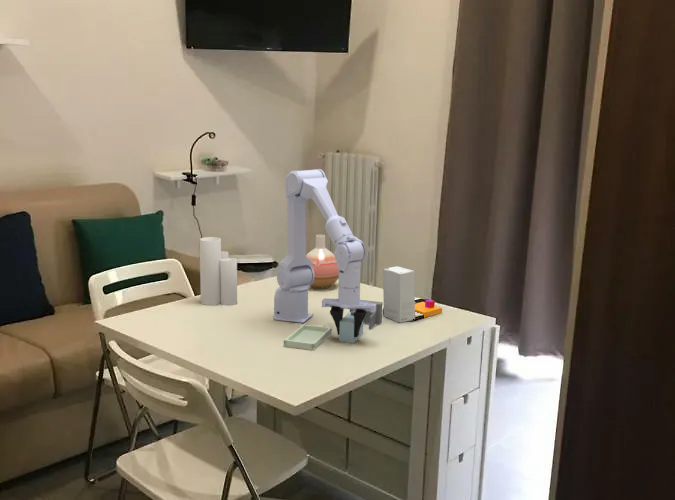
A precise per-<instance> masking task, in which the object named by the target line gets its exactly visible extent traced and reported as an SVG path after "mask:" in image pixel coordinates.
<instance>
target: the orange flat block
mask: <svg viewBox="0 0 675 500" xmlns="http://www.w3.org/2000/svg"><path fill="white" fill-rule="evenodd" d="M435 303H436V301H435V300H433V299H426V300H424V301H421V302H417V303H416V302H415V312H417V313H420V314H423V315H424V318H423V319H425V318H429V317H432V316H436V315H440V314H442V313H443V307H441V306H438V305H435Z"/></svg>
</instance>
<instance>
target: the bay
mask: <svg viewBox="0 0 675 500" xmlns="http://www.w3.org/2000/svg"><path fill="white" fill-rule="evenodd" d="M360 301H364V302H368V303H374V304H376V311H375V312H374V313H372V312H370V311H367V313H366V315H365V317H364V319H363V324H368V330H372V329H373V328H374V327H375V326H376V325H382V324H381V323H382V322H383V301H374V300H365V299H360ZM352 311H357V310H352V309H349V312H352Z"/></svg>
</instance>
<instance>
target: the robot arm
mask: <svg viewBox="0 0 675 500" xmlns="http://www.w3.org/2000/svg"><path fill="white" fill-rule="evenodd" d="M328 185H329V181H328V178H327V176H326V173H325V172H324V170H323V169H322V168H321V169H320V168H317V169H305V170H291V171H290V172H288V174H287V175H286V176H285V198H286V256H284V258H282V260H281V261H280V262H279V263H278V271H277V274H276V281H277V284H278V287H277V288H276V290H275V292H274V298H273V305H274V307H273V310H274V312H273V318H272V319H273V320H274V321H284V322H293V323H301V324H305V322H306V321H308V320H309V319H310V318H311V317H313V316H314V315H313V313H309V289H311V287H310V285H311V284H312V283H313V282H314V277H315V275H314V270H313V266H312V261H311V260H310V259H309V258H307V257H306V254H307V252H306V251H307V249H306V248H307V247H306V246H307V244H306V243H307V242H306V239H307V235H306V234H307V233H306V228H307V225H306V222H307V219H306V218H307V217H306V216H307V215H306V213H307V212H306V209H307V208H306V207H307V205H306V204H307V203H306V202H307V201H308V200H313V202H314V203H315V205H316V207H317V209H318V210H319V211H320V213H321V215H322V216H323V218H324V219H325V221H326V223H325V224H324V225H325V227H324V228H325V231H326V232H327V234H328V236H329V238H330V240H331V243H332V244H333V246H334V248H335V250H334V251H333V254H334V255H335V259H336V261H337V267H338V269H339V278H338V285H337V286H338V291H337V292H338V293H337V294H338V296H337V297H338V298H323V299H321V308H326V307H327V308H331V309H330V310H329V314H330V316H331V318H332V319H333V322H334V324H335V329H336V333H337V336H339V331H340V320H342V319H343V318H344V310H350V309H352V310H357V311H356V312H354V323H355V328H354V337H358V335H359V331H360V327H361V324H362V321H363V319H364V317H365V315H366V313H367V311H370V312H372V313H374V312H375V311H376V304H374V303H368V302H364V301H360V300H361V269H362V268H361V265H362V263H361V262H362V261H364V259H365V258H366V254H367V252H366V247H365V243H364V241H362V240H361V239H359V238H358V237H357V236H355V235H354V234H353V232H352V230H351V229H350V226H349V224H348V222H347V221H346V218H345V217H343V216H342V215H341V216H340V215H339V214H338V212H337V209H336V208H335V205H334V203H333V201H332V198H331V195H330V193H329V191H328ZM358 338H359V337H358Z"/></svg>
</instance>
